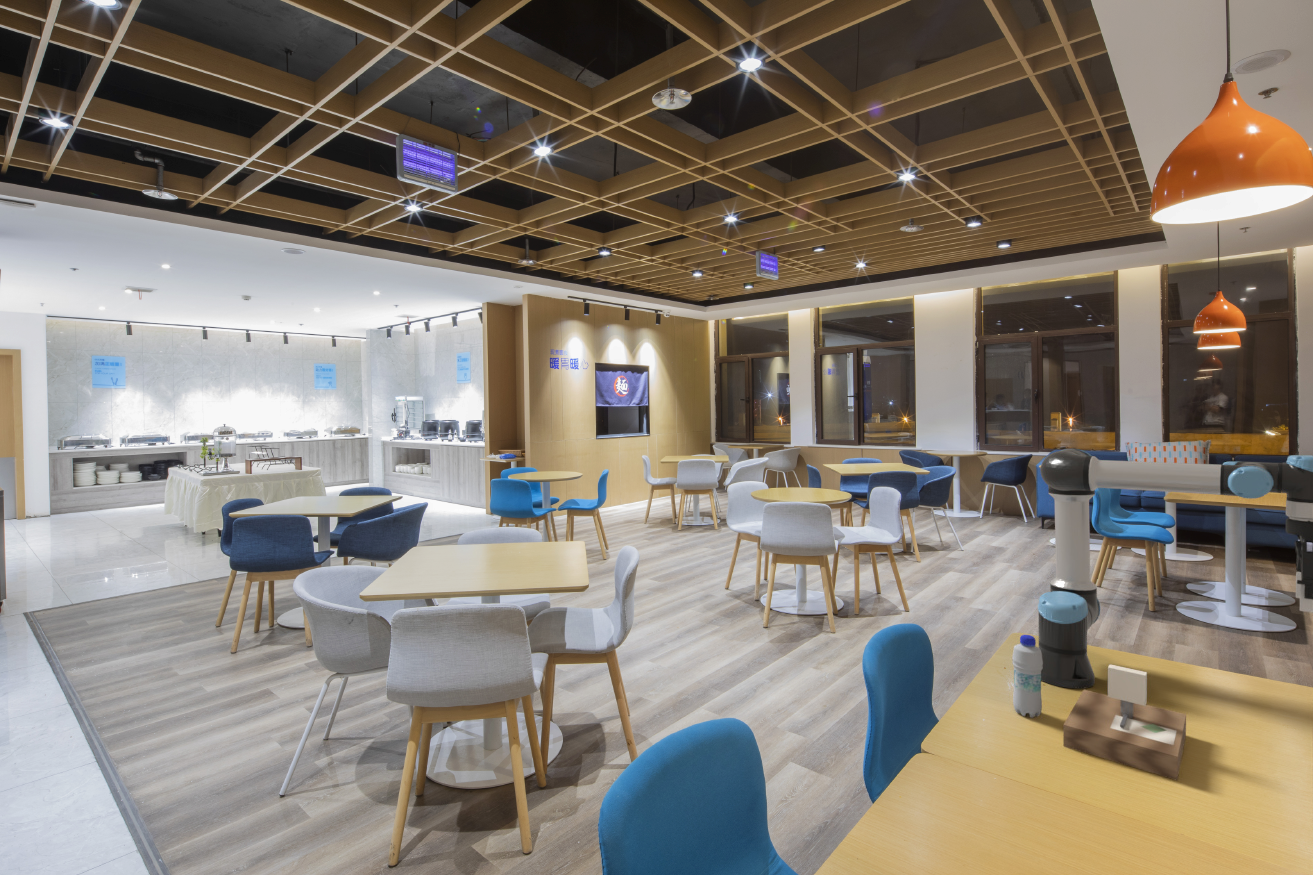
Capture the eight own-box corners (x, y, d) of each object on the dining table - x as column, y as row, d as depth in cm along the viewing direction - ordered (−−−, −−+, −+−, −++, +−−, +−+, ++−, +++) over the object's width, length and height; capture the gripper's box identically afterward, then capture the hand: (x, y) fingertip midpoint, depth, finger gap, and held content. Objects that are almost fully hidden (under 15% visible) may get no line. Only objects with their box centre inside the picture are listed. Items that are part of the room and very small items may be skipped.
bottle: (1034, 707, 161) (1034, 630, 160) (1048, 719, 154) (1048, 640, 153) (1007, 706, 161) (1007, 630, 160) (1019, 719, 155) (1019, 639, 154)
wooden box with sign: (1063, 745, 142) (1063, 724, 142) (1083, 708, 159) (1083, 689, 159) (1177, 780, 128) (1177, 756, 128) (1185, 735, 146) (1186, 713, 145)
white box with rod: (1102, 722, 142) (1103, 676, 141) (1109, 708, 148) (1109, 664, 148) (1141, 733, 137) (1142, 685, 137) (1146, 718, 144) (1146, 672, 143)
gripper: (1336, 528, 140) (1333, 621, 141) (1325, 513, 158) (1322, 596, 159) (1289, 524, 145) (1286, 614, 146) (1283, 510, 163) (1281, 590, 164)
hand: (1305, 604), depth 152 cm, fingers open, 13 cm apart
